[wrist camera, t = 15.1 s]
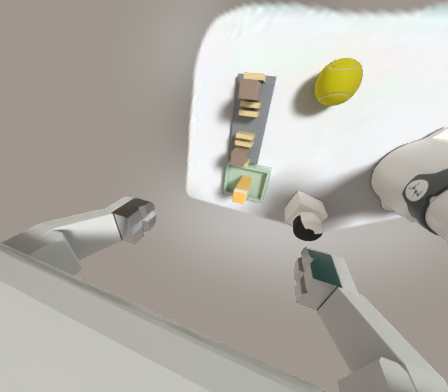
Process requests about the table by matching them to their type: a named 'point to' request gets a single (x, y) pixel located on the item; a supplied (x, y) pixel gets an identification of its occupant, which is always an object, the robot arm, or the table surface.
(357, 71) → the tennis ball
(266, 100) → the holder
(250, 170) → the tray
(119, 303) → the robot arm
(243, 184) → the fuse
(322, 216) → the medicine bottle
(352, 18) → the table surface
